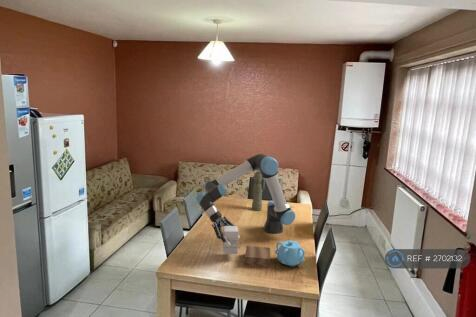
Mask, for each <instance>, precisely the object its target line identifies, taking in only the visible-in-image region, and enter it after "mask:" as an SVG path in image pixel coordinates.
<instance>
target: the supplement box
mask: <svg viewBox="0 0 476 317" xmlns="http://www.w3.org/2000/svg"><path fill="white" fill-rule="evenodd" d="M222 232H223V237H224V236H225V237H226V239H227V240H228V241H229V243H230V244H231V245H230V246H228V247H227V246H226V245H225V243H224V242H223V241H222V252H223V255H237V254H238V253H239V252H238V251H239V239H238V235H239V228H238V225H235V226H223V229H222Z"/></svg>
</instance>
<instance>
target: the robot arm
mask: <svg viewBox="0 0 476 317" xmlns="http://www.w3.org/2000/svg"><path fill="white" fill-rule="evenodd" d="M278 170H279V162H278V161H277V159H275V157H272V156H268V155H266V154H263V153H257V154H254V155H253V156H251V157H249V158H247V159H245V160H244V162H243V163H241V164H239V165H238V166H235V167H234V168H231V169H230V170H228V171H227V172H225V173H224V174H223V173H222V174H221V175H220V176H219V177H216V178H215V179H213V180H207V181H205V182H204V184H203V189H204V190H205V191H202V192H200V193H199V194H198V195H196V197H195V200H196V202H197V204H198V205H199V206H200V208H201V209H202V210H203V212H205V214H206V215H207V217H209V220H210V221H211V222H212V224H211V226H212V229H213V231H214V232H215V235H216V239H219V240H221V241H222V243H223V242H224V243H225V245H226V246H227V247H228V246H230V245H231V244H230V243H229V241H228V240H227V239H226V237H225V236H224V237H223V227H224V226H236V225H235V224H234V223H232V222H231V221H230V220H229V219H228V218H227V217H226V216H223V217H222V213H221V212H220V210H219V209H218V208H217V206H216V205H215V204H214V203H215V202H216V201H218V200H220V199H221V198H222V197H224V196H225V195H226V194H227V193H228V191H227V189H226V186H228V185H229V184H231V183H232V182H234V181H236V180H238V179H240V178H241V177H242V176H245V175H247V174H248V173H253V172H255V171H258V172H261V175H262V178H264V179H265V184H266V186H267V188H268V191H269V193H270V196H271V198H272V200H269V201H268V202H267V207H266V209H267V210H266V220H265V222H264V225H263V230H264V232H266V233H270V234H281V233H283V232H284V226H289V225H292V224H293V223H294V221H295V220H296V213H295V212H294V210H292V208H291V206H290V203H289V202H287V200H286V197H285V195H284V191H283V189H282V186H281V182H280V179H279V177H278V174H279V171H278ZM240 238H241V236H240V234H238V240H239V239H240Z"/></svg>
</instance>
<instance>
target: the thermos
mask: <svg viewBox="0 0 476 317" xmlns="http://www.w3.org/2000/svg"><path fill="white" fill-rule="evenodd" d="M265 184H266V180H265V179H264V178H262V175H261V172H260V171H256V172H255V173H254V175H253V176H252V179H251V188H252V192H253V194H252V203H251V210H252V211H253V210H254V211H253V212H261V211H262V207H263V201H262V198H263V196H262V195H263V190H265Z"/></svg>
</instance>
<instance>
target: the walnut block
mask: <svg viewBox="0 0 476 317" xmlns="http://www.w3.org/2000/svg"><path fill="white" fill-rule="evenodd" d="M245 248H246V249H245V255H244V267H245V266H247V267H257V268H259V267H260V268H270V266H271V265H270V264H271V248H270V247H267V246H266V247H265V246H255V245H246V247H245Z"/></svg>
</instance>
